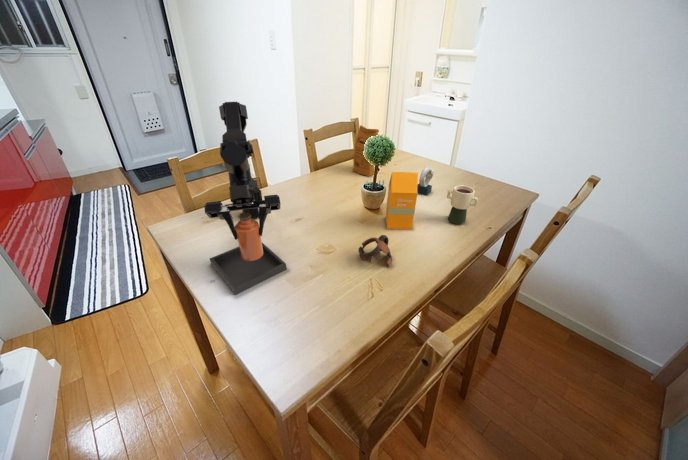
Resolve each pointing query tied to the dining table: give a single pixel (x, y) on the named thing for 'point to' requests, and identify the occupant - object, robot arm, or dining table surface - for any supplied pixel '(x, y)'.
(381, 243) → the brown looped piece
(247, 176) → the robot arm
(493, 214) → the dining table surface
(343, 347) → the dining table surface
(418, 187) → the stone sculpture
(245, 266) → the tray
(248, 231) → the bottle
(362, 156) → the coffee package
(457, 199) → the character mug
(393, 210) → the orange juice
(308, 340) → the dining table surface
